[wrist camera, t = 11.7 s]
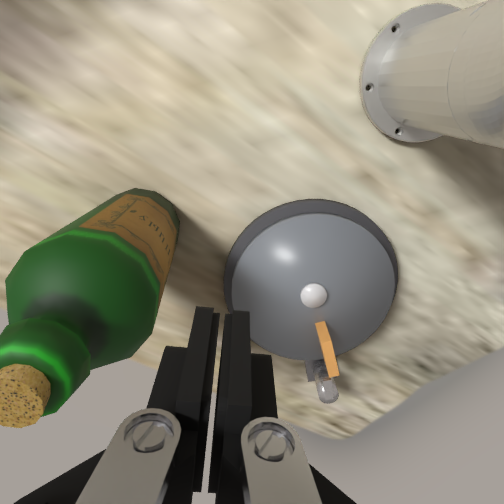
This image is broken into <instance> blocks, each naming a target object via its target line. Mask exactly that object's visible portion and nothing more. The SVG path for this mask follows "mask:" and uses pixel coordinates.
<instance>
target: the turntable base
mask: <svg viewBox="0 0 504 504" xmlns="http://www.w3.org/2000/svg"><path fill="white" fill-rule="evenodd" d="M308 212H327V213H332V214H338V215H341V216H344V217H347V218H349V219H351V220H353V221H355V222H357V223H359V224H360V225H362V226H363V227H365V228H366V229H367V230H368V231H370V232H371V233H372V234H373V235H374V236H375V237H376V239H377V240H378V241H379V242H380V243H381V245H382V246H383V247H384V249H385V251H386V252H387V254H388V256H389V258H390V261H391V263H392V266H393V271H394V278H395V288H394V295H393V299H394V296H395V293H396V288H397V282H398V269H397V261H396V258H395V254H394V251H393V249H392V246H391V244H390V242H389V241H388V239H387V237H386V236H385V234H384V233H383V232H382V231H381V230H380V229H379V227H378V226H377V225H376V224H375V223H374V222H373V221H372V220H371V219H369V218H368V217H367V216H366V215H365V214H363V213H362V212H360V211H358V210H357V209H355V208H353V207H350V206H348V205H346V204H343V203H340V202H336V201H331V200H325V199H305V200H297V201H293V202H289V203H285V204H282V205H280V206H277V207H275V208H273V209H271V210H269V211H267V212H265V213H264V214H262V215H261V216H259V217H258V218H256V219H255V220H254V221H253V222H252V223H251V224H249V225H248V226H247V227H246V228H245V230H244V231H243V232H242V233H241V234H240V236H239V237H238V238H237V240H236V242H235V243H234V245H233V247H232V249H231V251H230V253H229V256H228V259H227V263H226V267H225V274H224V295H225V301H226V304H227V307H228V310H229V312H230V314H232V310H234V308H233V304H232V279H233V274H234V269H235V267H236V264H237V261H238V259H239V257H240V255H241V253H242V252H243V250H244V249H245V247H246V246H247V244H248V243H249V242H250V241H251V240H252V239H253V238H254V237H255V236H256V235H257V234H258V233H259V232H261V231H262V230H263V229H264V228H266V227H268V226H269V225H271V224H272V223H274V222H276V221H279V220H281V219H283V218H286V217H289V216H292V215H296V214H301V213H308ZM392 302H393V300H392ZM391 304H392V303H391ZM250 339H251V338H250ZM251 340H252V339H251ZM252 341H253V340H252ZM253 342H254V341H253ZM256 344H257V343H256Z"/></svg>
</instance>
